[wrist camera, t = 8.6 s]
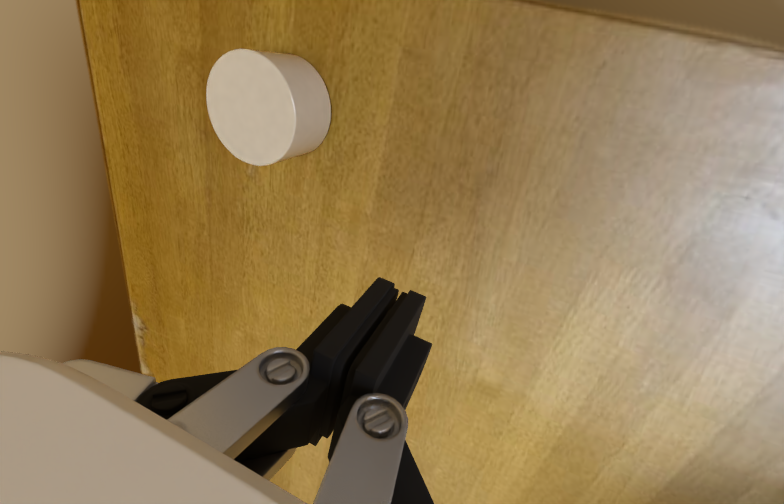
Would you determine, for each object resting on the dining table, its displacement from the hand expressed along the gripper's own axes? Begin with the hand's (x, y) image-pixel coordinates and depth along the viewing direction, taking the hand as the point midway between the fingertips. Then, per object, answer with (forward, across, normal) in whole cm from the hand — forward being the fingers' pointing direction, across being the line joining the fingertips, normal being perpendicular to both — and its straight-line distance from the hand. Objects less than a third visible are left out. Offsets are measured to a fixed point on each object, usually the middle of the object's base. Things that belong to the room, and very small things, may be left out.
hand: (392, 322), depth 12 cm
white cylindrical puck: (+13, +14, -3) cm, 19 cm away
